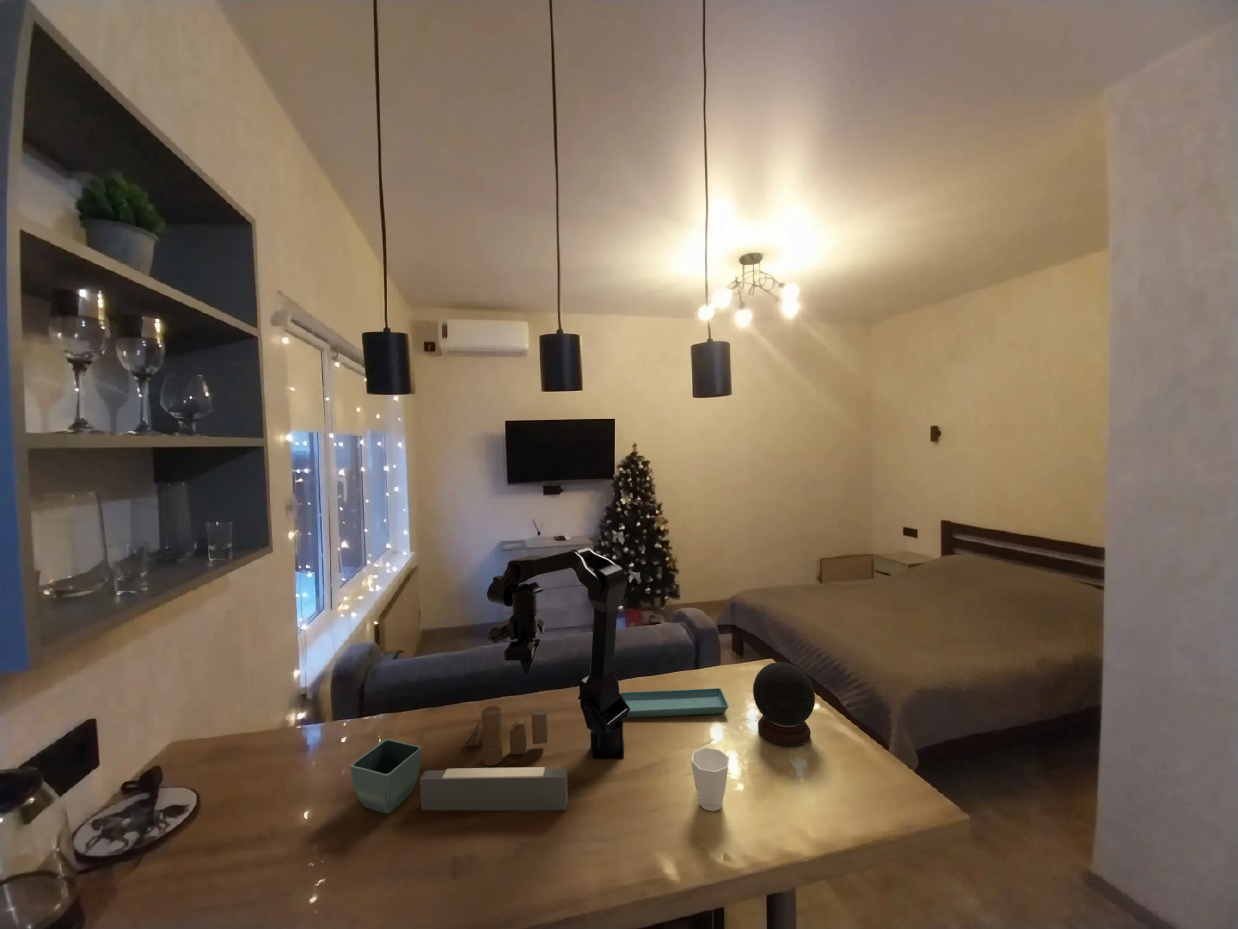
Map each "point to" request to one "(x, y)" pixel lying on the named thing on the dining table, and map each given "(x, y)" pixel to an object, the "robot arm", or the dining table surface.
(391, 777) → the flower pot
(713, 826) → the dining table surface
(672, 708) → the shallow long dish
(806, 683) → the ball on wooden stand
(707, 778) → the cup
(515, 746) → the wooden block set
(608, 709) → the robot arm
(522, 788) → the board
